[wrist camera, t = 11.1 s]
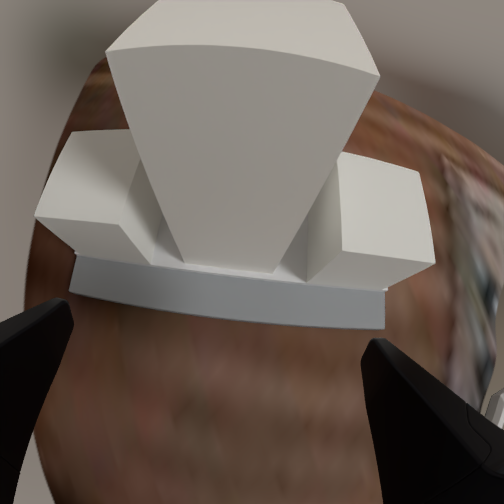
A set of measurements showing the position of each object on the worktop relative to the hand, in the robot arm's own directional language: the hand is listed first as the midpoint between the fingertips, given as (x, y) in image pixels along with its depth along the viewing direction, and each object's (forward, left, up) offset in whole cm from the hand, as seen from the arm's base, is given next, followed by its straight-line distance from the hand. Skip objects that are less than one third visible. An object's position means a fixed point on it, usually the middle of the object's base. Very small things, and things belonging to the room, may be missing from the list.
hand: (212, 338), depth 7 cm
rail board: (+6, +1, -9) cm, 11 cm away
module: (+6, +1, -8) cm, 10 cm away
